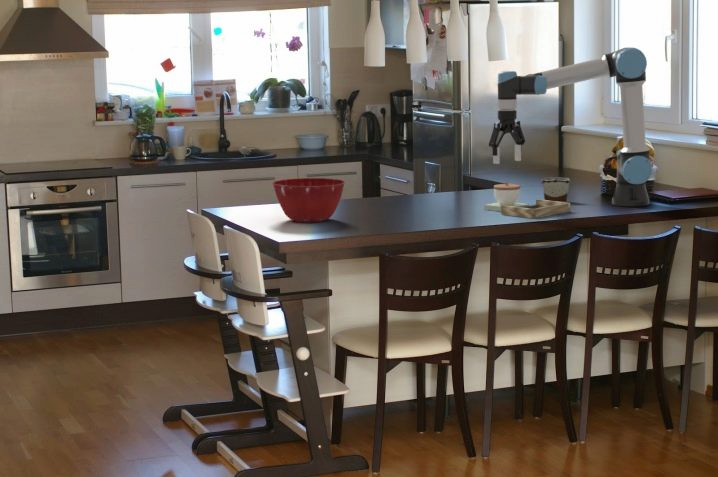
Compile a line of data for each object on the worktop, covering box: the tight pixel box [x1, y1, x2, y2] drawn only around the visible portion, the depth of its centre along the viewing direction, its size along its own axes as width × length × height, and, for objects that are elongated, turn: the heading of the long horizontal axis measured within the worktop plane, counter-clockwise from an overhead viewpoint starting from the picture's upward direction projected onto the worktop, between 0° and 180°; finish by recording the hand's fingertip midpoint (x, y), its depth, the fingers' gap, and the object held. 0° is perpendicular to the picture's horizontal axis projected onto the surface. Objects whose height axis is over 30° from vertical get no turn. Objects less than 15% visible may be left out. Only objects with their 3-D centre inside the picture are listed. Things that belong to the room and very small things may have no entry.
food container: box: [540, 176, 571, 203], centre depth 495 cm, size 12×6×10 cm, turn 84°
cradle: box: [500, 199, 571, 219], centre depth 464 cm, size 16×23×4 cm
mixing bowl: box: [272, 177, 346, 224], centre depth 454 cm, size 28×28×15 cm
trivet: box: [483, 202, 530, 213], centre depth 475 cm, size 13×13×2 cm
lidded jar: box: [493, 181, 521, 205], centre depth 474 cm, size 11×11×9 cm
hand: (507, 162), depth 472 cm, fingers open, 13 cm apart
